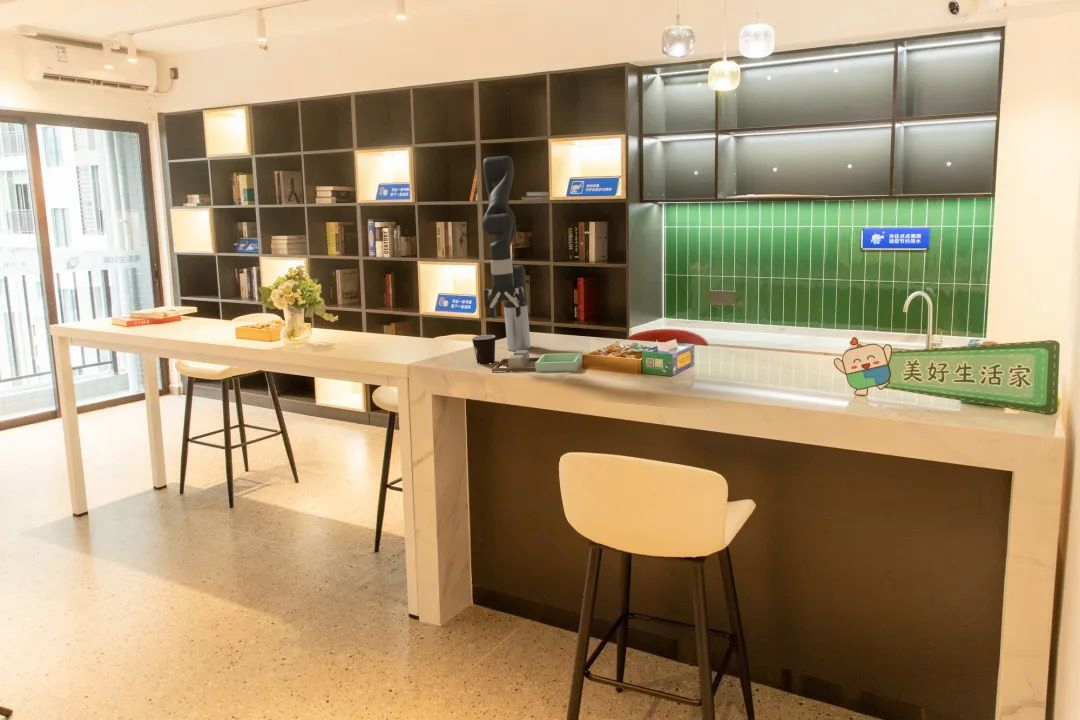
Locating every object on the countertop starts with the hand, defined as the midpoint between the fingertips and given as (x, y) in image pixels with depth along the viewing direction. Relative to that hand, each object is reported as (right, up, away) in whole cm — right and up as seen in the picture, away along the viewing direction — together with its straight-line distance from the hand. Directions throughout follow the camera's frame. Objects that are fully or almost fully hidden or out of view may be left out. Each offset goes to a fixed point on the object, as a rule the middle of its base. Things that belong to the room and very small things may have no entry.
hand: (506, 317), depth 292 cm
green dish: (+19, -18, -1) cm, 26 cm away
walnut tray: (+5, -18, +4) cm, 19 cm away
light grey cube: (+4, -18, +1) cm, 19 cm away
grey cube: (+5, -16, +8) cm, 19 cm away
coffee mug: (-8, -16, +16) cm, 24 cm away
